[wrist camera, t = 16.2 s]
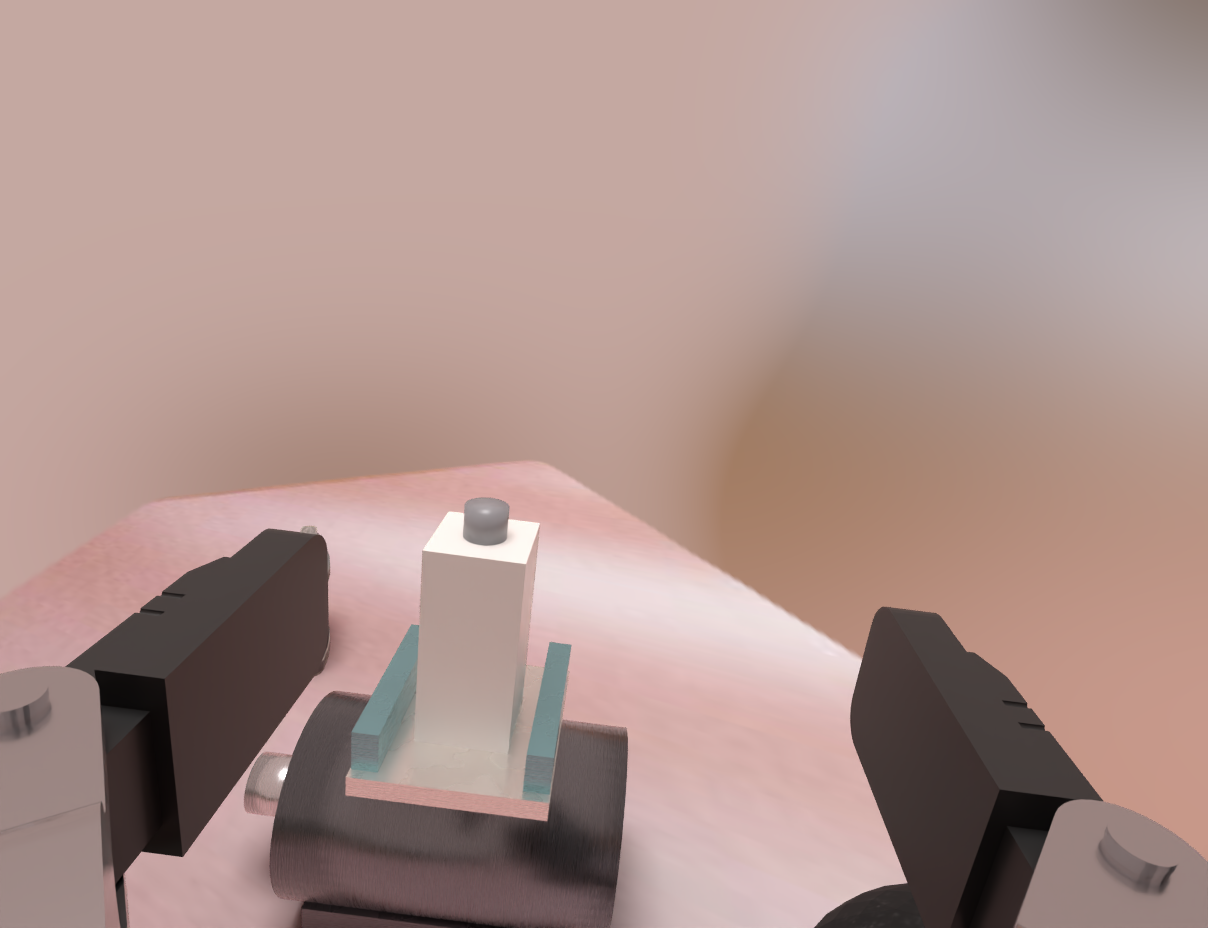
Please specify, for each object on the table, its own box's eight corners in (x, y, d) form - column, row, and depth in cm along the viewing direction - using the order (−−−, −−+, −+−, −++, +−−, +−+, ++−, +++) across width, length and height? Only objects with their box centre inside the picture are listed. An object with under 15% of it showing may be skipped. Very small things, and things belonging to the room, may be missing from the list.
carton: (522, 695, 39) (542, 494, 35) (508, 753, 35) (529, 532, 31) (439, 684, 39) (450, 482, 35) (414, 741, 35) (423, 518, 31)
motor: (606, 834, 45) (635, 648, 41) (598, 996, 36) (634, 776, 31) (300, 795, 45) (297, 604, 41) (211, 947, 36) (196, 720, 32)
